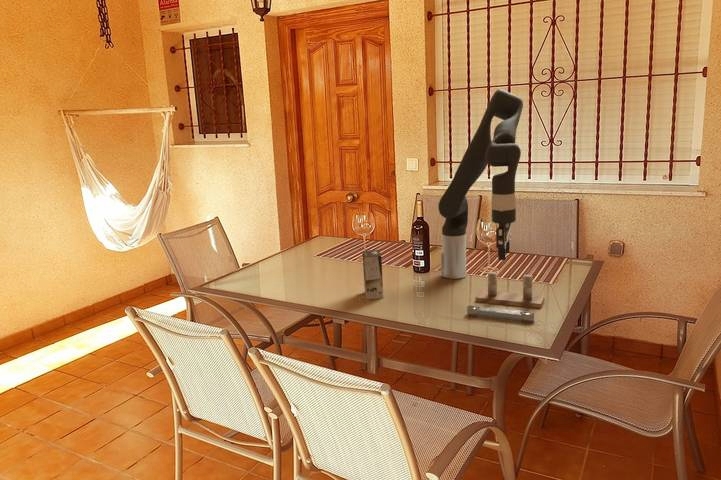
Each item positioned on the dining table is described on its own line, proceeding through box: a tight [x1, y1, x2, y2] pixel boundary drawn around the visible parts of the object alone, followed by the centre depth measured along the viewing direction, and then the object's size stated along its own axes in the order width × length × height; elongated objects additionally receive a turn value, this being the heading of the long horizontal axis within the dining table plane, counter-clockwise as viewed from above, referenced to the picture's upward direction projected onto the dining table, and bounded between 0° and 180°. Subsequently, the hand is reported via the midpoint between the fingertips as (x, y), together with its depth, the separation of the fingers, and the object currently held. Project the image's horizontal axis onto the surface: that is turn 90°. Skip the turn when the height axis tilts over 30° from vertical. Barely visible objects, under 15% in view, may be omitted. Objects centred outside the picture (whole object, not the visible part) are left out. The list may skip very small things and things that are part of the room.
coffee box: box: [362, 249, 384, 300], centre depth 214 cm, size 9×6×16 cm
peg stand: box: [475, 271, 545, 309], centre depth 202 cm, size 22×8×10 cm, turn 65°
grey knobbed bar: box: [466, 304, 535, 324], centre depth 189 cm, size 21×4×2 cm, turn 65°
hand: (504, 256), depth 190 cm, fingers open, 8 cm apart
